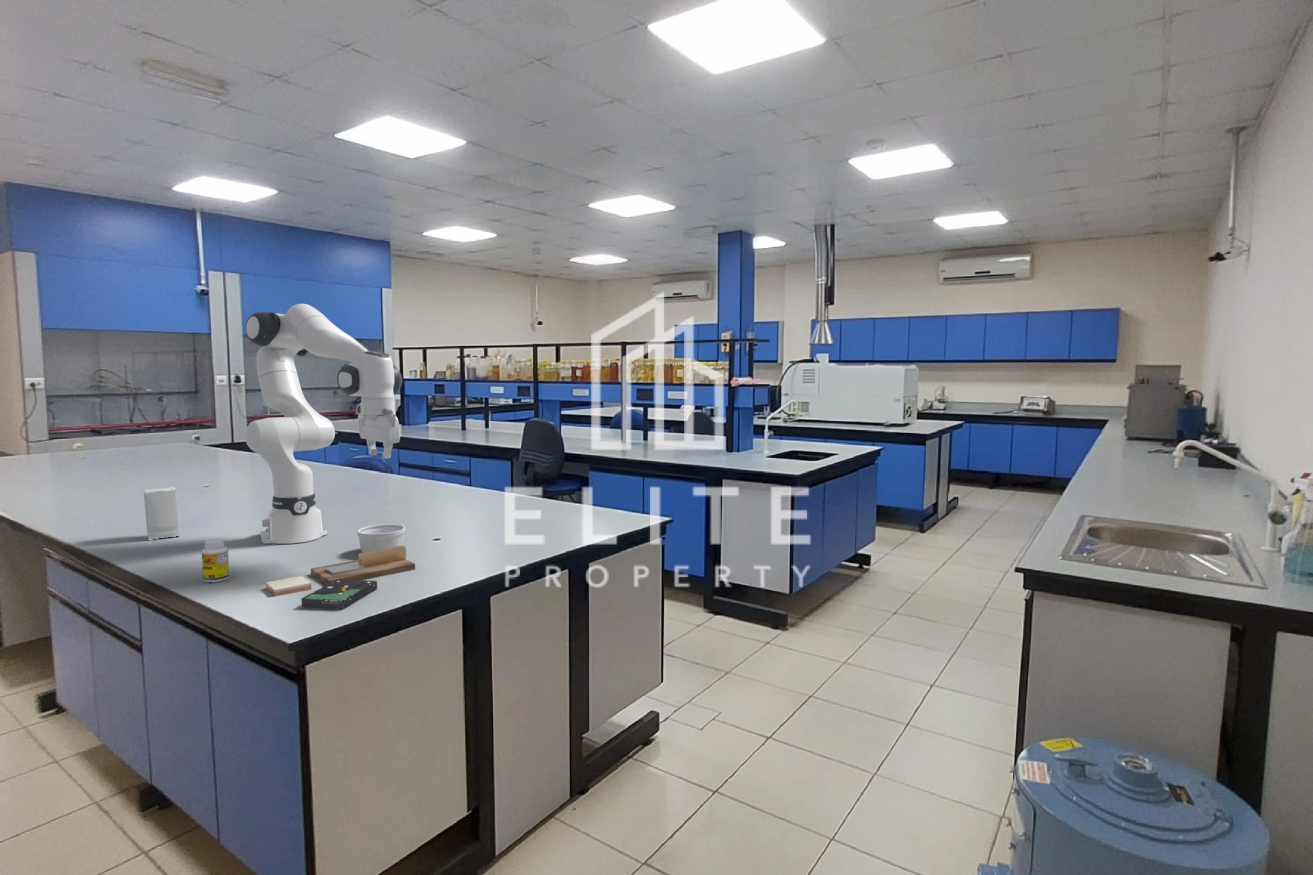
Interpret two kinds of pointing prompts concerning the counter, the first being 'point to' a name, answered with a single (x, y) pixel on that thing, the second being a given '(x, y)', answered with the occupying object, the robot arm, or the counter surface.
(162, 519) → the skincare box
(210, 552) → the supplement bottle
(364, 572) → the board
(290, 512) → the robot arm
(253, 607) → the counter surface
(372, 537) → the ramekin
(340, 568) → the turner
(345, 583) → the disk drive
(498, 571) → the counter surface
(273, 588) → the tile
